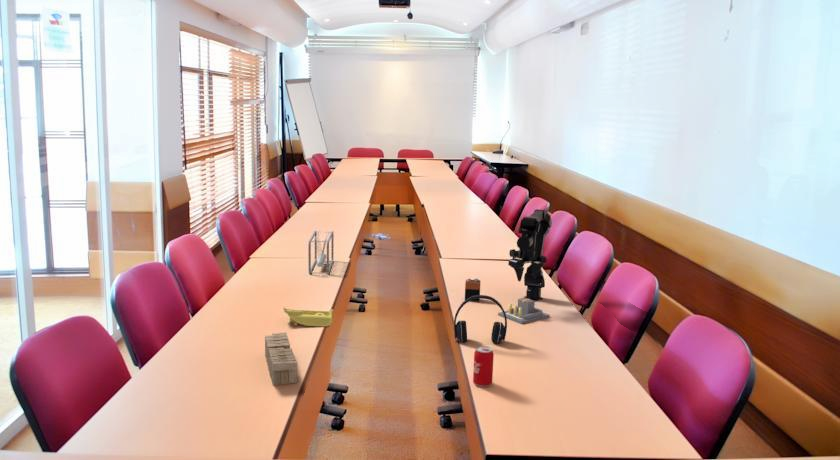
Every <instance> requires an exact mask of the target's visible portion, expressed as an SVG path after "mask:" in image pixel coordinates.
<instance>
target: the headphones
mask: <svg viewBox="0 0 840 460" xmlns="http://www.w3.org/2000/svg"><path fill="white" fill-rule="evenodd" d="M473 299H484V300H489V301H491V302H493V303H495V304H496V305H497V307H499V308H500V310H501V312H503V314H504V317H505V318H504V317H503V318H504V323H503V322H502V321H495V322H493V326H492V329H491V338H490V339H491V342H492V343H496V344H501V342H502V341H505V339H506V335H507V328H508V321H507V320H508V319H507V318H506V314H505V311H506V310H504V308H503V306H502V304H501V303H500V302H499V301H498V300H497V299H495V298H494V297H492V296H490V295H483V294H480V295H475V296H472V297H469V298H468V299H466V300H465V299H464V301H463V302H462V303H461V304H460V305H459V307H458V308H457V310H456V313H455V315H454V317H453V318H454V319H453V330H454V339H455V340H456V339H457V341H458V342H461V343H462V342H463V343H464V342H467V341H468V330H467V328H468V327H467V321H466V320H458V321H457V318H458V315H459V312H460V311H461V309H462V308H463V307H464V306H465V305H466V304H467V303H469V302H472V301H471V300H473Z"/></svg>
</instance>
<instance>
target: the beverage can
mask: <svg viewBox="0 0 840 460" xmlns="http://www.w3.org/2000/svg"><path fill="white" fill-rule="evenodd" d="M494 355H495V354H494V352H493V349H492V347H490V346H485V345H481V346H479V345H478V346H477V347H476V348H475V351H474V354H473V376H472V382H473V384H475V385H476V386H477V387H479V388H480V387H482V388H486V387H489V386H490V385H492V384H493V379H494V378H493V372H494V357H495V356H494Z"/></svg>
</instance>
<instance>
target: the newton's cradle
mask: <svg viewBox="0 0 840 460" xmlns="http://www.w3.org/2000/svg"><path fill="white" fill-rule="evenodd" d="M328 235H329V236H328ZM319 236H320V231H316V230H314V231H313V233H312V235H311V237H310V238H309V240H308V243H307V244H308V245H307V246H308V250H307V251H308V259H307V260H308V274H309V275H310V274H327V275H329V274H330V272H331V269H332V266H333V263H334V236H335V235H334V230H331V231H327V233H326V235H325V238H324V239H323V240H321V238H319ZM330 242H331V247H330ZM312 243H314V260H313V263H311V262H312V259H311V257H312V256H311V255H312V254H311V250H312V249H311V246H312ZM321 243H323V246H322V244H321ZM320 246H322V248H318V247H320ZM330 248H331V249H330ZM325 249H326V254H325ZM330 250H331V252H330ZM318 252H321V253H318ZM330 253H331V260H330ZM317 255H318V256H317ZM317 257H318V258H317ZM325 262H326V272H321V271H320V272H319V271H317V272H315V271H314V272H313V270H314V267H315V265H316V266H317V267H318V268H323V266H324V264H325Z"/></svg>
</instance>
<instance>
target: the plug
mask: <svg viewBox="0 0 840 460" xmlns="http://www.w3.org/2000/svg"><path fill="white" fill-rule="evenodd" d="M535 303H536V301H533V300H531V299H527V298H524V297H521V298H518V299H517V307H518V308H517V312H518V313H519V307H521V308H522V314H523V315H527V314H531V313H534V307H535V305H536V304H535Z"/></svg>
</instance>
